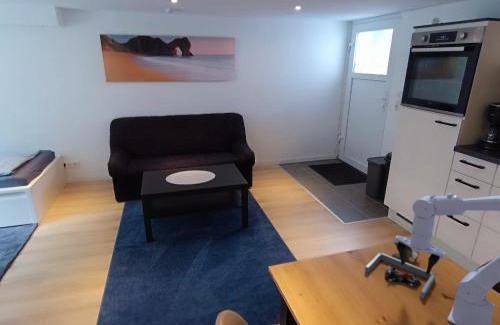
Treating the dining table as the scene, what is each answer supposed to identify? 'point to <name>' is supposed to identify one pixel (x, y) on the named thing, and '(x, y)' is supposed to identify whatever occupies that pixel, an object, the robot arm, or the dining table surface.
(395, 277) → the toy car
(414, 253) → the eagle figurine
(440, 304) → the dining table surface
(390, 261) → the garage bay
